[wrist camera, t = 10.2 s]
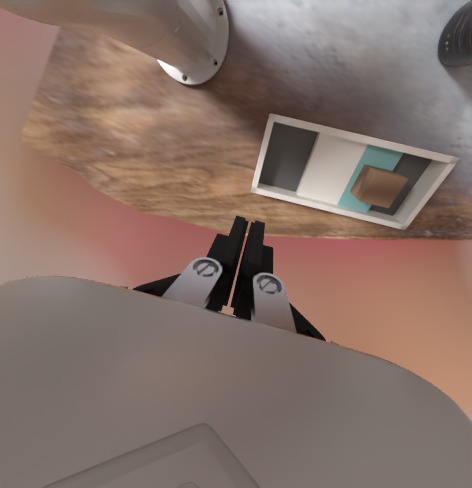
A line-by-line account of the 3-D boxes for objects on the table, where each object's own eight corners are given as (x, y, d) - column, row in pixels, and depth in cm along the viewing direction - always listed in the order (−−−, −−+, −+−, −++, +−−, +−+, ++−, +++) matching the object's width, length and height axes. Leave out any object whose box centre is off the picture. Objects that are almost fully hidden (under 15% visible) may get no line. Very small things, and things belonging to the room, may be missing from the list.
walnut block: (364, 164, 35) (376, 170, 31) (392, 171, 35) (408, 178, 31) (349, 191, 38) (359, 201, 34) (376, 198, 38) (388, 208, 34)
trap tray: (270, 113, 35) (269, 112, 32) (442, 153, 34) (460, 158, 31) (252, 185, 42) (250, 191, 39) (394, 221, 41) (404, 230, 38)
